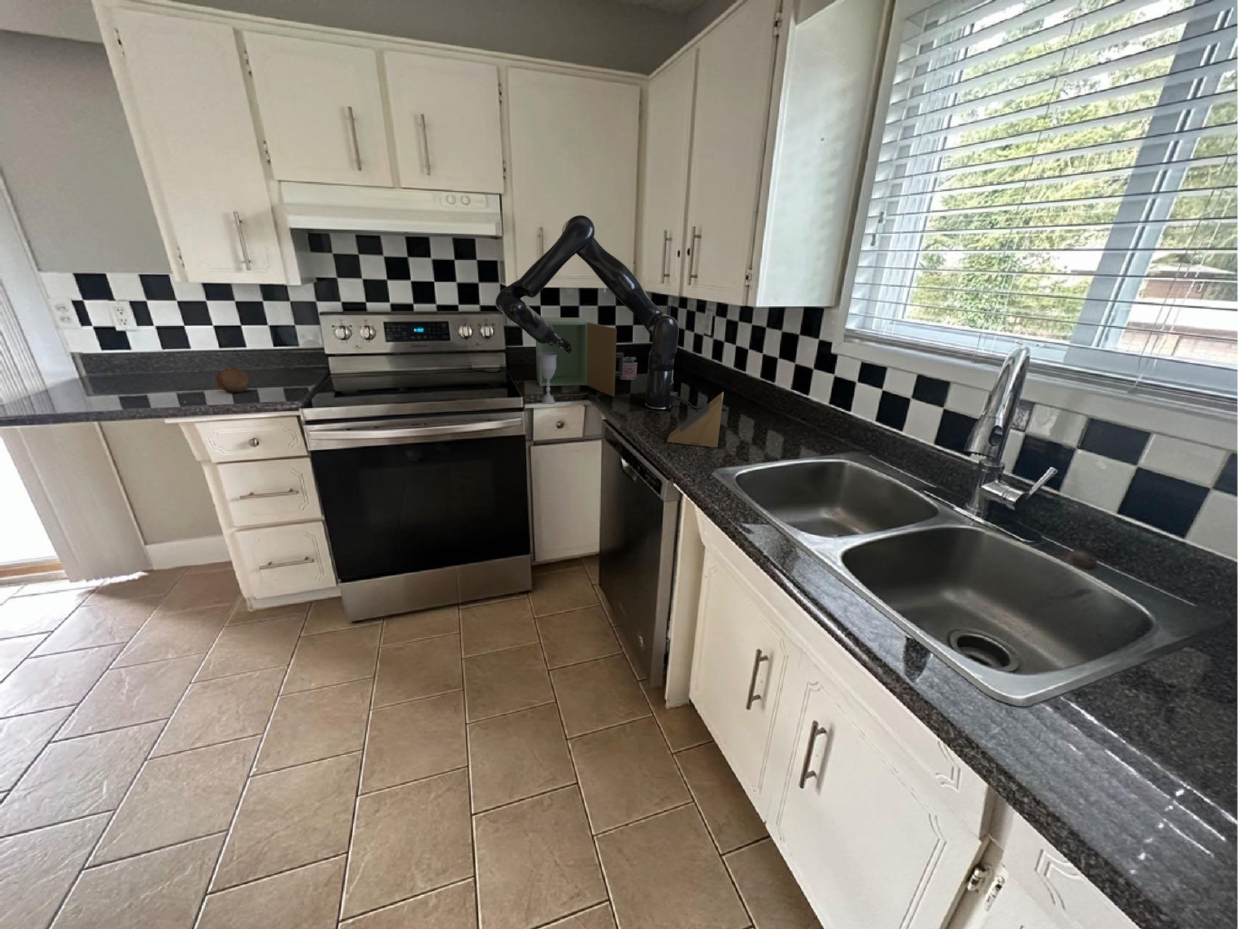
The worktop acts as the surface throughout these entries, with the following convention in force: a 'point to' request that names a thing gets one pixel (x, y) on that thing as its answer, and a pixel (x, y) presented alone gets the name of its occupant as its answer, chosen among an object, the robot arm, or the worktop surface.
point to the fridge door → (602, 358)
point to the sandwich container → (701, 426)
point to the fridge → (567, 364)
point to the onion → (232, 380)
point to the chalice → (547, 372)
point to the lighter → (629, 369)
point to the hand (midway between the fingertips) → (561, 347)
